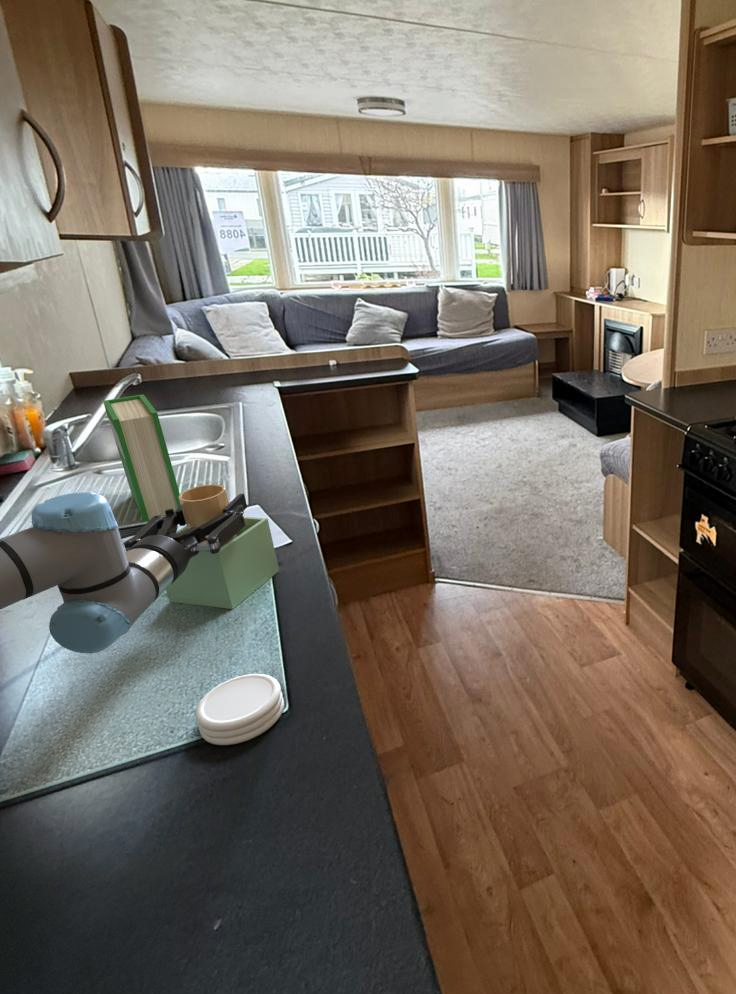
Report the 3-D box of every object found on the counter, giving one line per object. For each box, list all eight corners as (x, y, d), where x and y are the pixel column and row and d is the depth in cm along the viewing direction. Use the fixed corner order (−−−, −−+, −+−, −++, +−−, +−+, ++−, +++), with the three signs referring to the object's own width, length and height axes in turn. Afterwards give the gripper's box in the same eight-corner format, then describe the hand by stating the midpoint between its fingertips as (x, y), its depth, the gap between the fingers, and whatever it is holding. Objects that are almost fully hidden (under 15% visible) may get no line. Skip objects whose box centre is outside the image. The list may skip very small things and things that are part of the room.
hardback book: (186, 517, 141) (157, 412, 132) (146, 528, 137) (113, 420, 128) (170, 492, 154) (143, 394, 144) (133, 501, 149) (102, 400, 140)
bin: (169, 601, 112) (152, 545, 107) (220, 564, 123) (207, 512, 119) (233, 609, 109) (218, 552, 105) (279, 571, 121) (267, 518, 117)
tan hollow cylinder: (183, 552, 110) (168, 499, 107) (212, 533, 117) (199, 483, 113) (219, 556, 109) (204, 502, 105) (246, 537, 115) (234, 485, 112)
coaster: (194, 757, 80) (187, 735, 79) (207, 703, 89) (201, 683, 88) (282, 734, 84) (277, 712, 82) (286, 684, 92) (281, 664, 91)
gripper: (84, 594, 95) (168, 522, 116) (224, 587, 96) (282, 517, 117) (68, 549, 92) (157, 484, 113) (213, 543, 93) (274, 479, 115)
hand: (221, 501), depth 115 cm, fingers closed on tan hollow cylinder, 7 cm apart
